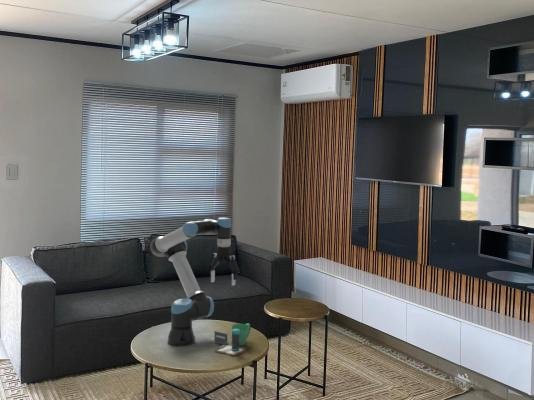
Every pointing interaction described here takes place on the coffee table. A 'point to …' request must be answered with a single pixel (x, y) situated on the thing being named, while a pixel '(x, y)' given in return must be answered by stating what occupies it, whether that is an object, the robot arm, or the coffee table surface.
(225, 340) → the gray bookend
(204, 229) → the robot arm
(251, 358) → the coffee table surface
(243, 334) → the mug
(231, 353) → the clipboard
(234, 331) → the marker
